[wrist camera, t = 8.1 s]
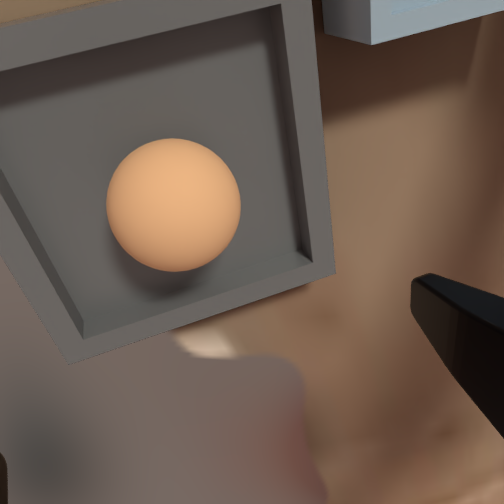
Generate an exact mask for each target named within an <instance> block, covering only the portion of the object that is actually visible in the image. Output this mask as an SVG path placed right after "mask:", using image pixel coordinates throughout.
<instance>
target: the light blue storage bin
mask: <svg viewBox="0 0 504 504" xmlns="http://www.w3.org/2000/svg"><path fill="white" fill-rule="evenodd" d="M322 9H323V22H324V33H325V34H329V35H333V36H337V37H341V38H345V39H349V40H353V41H357V42H361V43H365V44H369V45H374V44H378V43H382V42H385V41H389V40H393V39H397V38H400V37H404V36H408V35H412V34H416V33H419V32H423V31H427V30H431V29H434V28H438V27H442V26H446V25H449V24H453V23H457V22H461V21H465V20H468V19H472V18H476V17H480V16H483V15H487V14H491V13H495V12H499V11H502V10H504V0H322Z"/></svg>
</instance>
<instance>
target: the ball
mask: <svg viewBox="0 0 504 504" xmlns="http://www.w3.org/2000/svg"><path fill="white" fill-rule="evenodd" d="M106 211H107V217H108V221H109V224H110V227H111V230H112V232H113V234H114V236H115V238H116V239H117V241H118V242H119V244H120V245H121V246H122V248H123V249H124V250H125V251H126V252H127V253H128V254H129V255H131V256H132V257H133V258H134V259H136V260H137V261H139V262H140V263H142V264H144V265H147V266H149V267H151V268H154V269H158V270H162V271H170V272H178V271H187V270H191V269H195V268H198V267H200V266H203V265H205V264H207V263H209V262H210V261H212V260H213V259H215V258H216V257H217V256H218V255H219V254H221V253H222V251H223V250H224V249H225V248H226V247H227V246H228V244H229V243H230V242H231V240H232V238H233V236H234V234H235V232H236V229H237V227H238V223H239V219H240V211H241V200H240V194H239V189H238V186H237V183H236V180H235V178H234V176H233V174H232V172H231V171H230V169H229V168H228V166H227V165H226V164H225V163H224V161H223V160H222V159H221V158H220V157H218V156H217V155H216V154H215V153H214V152H213V151H211V150H210V149H208V148H206V147H204V146H202V145H200V144H198V143H195V142H192V141H189V140H184V139H174V138H170V139H161V140H156V141H152V142H150V143H147V144H145V145H143V146H141V147H139V148H137V149H136V150H134V151H133V152H131V153H130V154H129V155H128V156H127V157H126V158H124V160H123V161H122V162H121V163H120V164H119V166H118V167H117V169H116V170H115V172H114V174H113V176H112V178H111V181H110V183H109V187H108V190H107V198H106Z"/></svg>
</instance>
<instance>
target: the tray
mask: <svg viewBox="0 0 504 504" xmlns="http://www.w3.org/2000/svg"><path fill="white" fill-rule="evenodd" d="M170 138H174V139H184V140H189V141H192V142H195V143H198V144H200V145H202V146H204V147H206V148H208V149H210V150H211V151H213V152H214V153H215V154H216V155H217V156H218V157H220V158H221V159H222V160H223V161H224V163H225V164H226V165H227V166H228V168H229V169H230V171H231V172H232V174H233V176H234V178H235V180H236V183H237V186H238V189H239V194H240V200H241V211H240V219H239V223H238V227H237V229H236V232H235V234H234V236H233V238H232V240H231V242H230V243H229V244H228V246H227V247H226V248H225V249H224V250H223V251H222V253H221V254H219V255H218V256H217V257H216V258H215V259H213V260H212V261H210V262H209V263H207V264H205V265H203V266H200V267H198V268H195V269H191V270H187V271H178V272H170V271H162V270H158V269H154V268H151V267H149V266H147V265H144V264H142V263H140V262H139V261H137V260H136V259H134V258H133V257H132V256H131V255H129V254H128V253H127V252H126V251H125V250H124V249H123V248H122V246H121V245H120V244H119V242H118V241H117V239H116V238H115V236H114V234H113V232H112V230H111V227H110V224H109V221H108V217H107V211H106V198H107V190H108V187H109V183H110V181H111V178H112V176H113V174H114V172H115V170H116V169H117V167H118V166H119V164H120V163H121V162H122V161H123V160H124V158H126V157H127V156H128V155H129V154H130V153H131V152H133V151H134V150H136V149H137V148H139V147H141V146H143V145H145V144H147V143H150V142H152V141H156V140H161V139H170ZM0 255H1V257H2V259H3V260H4V262H5V263H6V265H7V267H8V268H9V270H10V272H11V273H12V275H13V276H14V278H15V280H16V281H17V283H18V284H19V286H20V288H21V289H22V291H23V292H24V294H25V296H26V297H27V299H28V301H29V302H30V304H31V305H32V307H33V309H34V310H35V311H36V313H37V315H38V317H39V318H40V320H41V322H42V323H43V325H44V326H45V328H46V330H47V331H48V333H49V334H50V336H51V337H52V339H53V341H54V342H55V344H56V346H57V347H58V349H59V351H60V352H61V354H62V355H63V357H64V359H65V360H66V362H67V363H68V365H70V364H73V363H76V362H79V361H81V360H84V359H87V358H90V357H93V356H96V355H99V354H102V353H105V352H108V351H111V350H114V349H116V348H119V347H122V346H125V345H128V344H131V343H134V342H137V341H140V340H142V339H146V338H149V337H152V336H155V335H158V334H160V333H163V332H166V331H169V330H172V329H175V328H178V327H181V326H184V325H187V324H190V323H193V322H195V321H198V320H201V319H204V318H207V317H210V316H213V315H216V314H219V313H222V312H225V311H228V310H231V309H233V308H236V307H239V306H242V305H245V304H248V303H251V302H254V301H257V300H260V299H263V298H266V297H268V296H271V295H274V294H277V293H280V292H283V291H286V290H289V289H292V288H295V287H298V286H301V285H303V284H306V283H309V282H312V281H315V280H318V279H321V278H324V277H327V276H330V275H333V274H336V270H335V259H334V248H333V236H332V225H331V214H330V203H329V191H328V180H327V169H326V157H325V146H324V135H323V124H322V112H321V101H320V90H319V78H318V67H317V56H316V45H315V33H314V22H313V11H312V0H102V1H98V2H93V3H89V4H85V5H80V6H76V7H71V8H67V9H63V10H58V11H54V12H49V13H45V14H40V15H36V16H32V17H27V18H23V19H18V20H14V21H10V22H5V23H1V24H0Z"/></svg>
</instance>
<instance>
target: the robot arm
mask: <svg viewBox="0 0 504 504" xmlns="http://www.w3.org/2000/svg"><path fill="white" fill-rule="evenodd" d="M410 307H411V312H412V314H413V316H414V318H415V320H416V321H417V323H418V324H419V326H420V327H421V329H422V330H423V332H424V333H425V335H426V337H427V338H428V340H429V341H430V343H431V344H432V346H433V347H434V349H435V350H436V352H437V353H438V355H439V356H440V358H441V360H442V361H443V363H444V364H445V366H446V367H447V368H448V370H449V371H450V373H451V374H452V375H453V377H454V378H455V379H456V381H457V382H458V383H459V384H460V386H461V387H462V388H463V389H464V391H465V392H466V393H467V394H468V395H469V397H470V398H471V399H472V400H473V402H474V403H475V404H476V405H477V406H478V408H479V409H480V410H481V411H482V413H483V414H484V415H485V416H486V417H487V419H488V420H489V421H490V422H491V424H492V425H493V426H494V427H495V428H496V430H497V431H498V432H499V433H500V435H501V436H502V437H503V438H504V298H503V297H500V296H497V295H494V294H491V293H489V292H486V291H483V290H480V289H477V288H474V287H471V286H468V285H465V284H462V283H459V282H456V281H453V280H450V279H447V278H445V277H442V276H439V275H436V274H432V273H428V274H425V275H422V276H419V277H416V278H414V279H413V280H412V282H411V302H410ZM0 504H8V478H7V463H6V460H5V458H4V457H3V455H2V454H1V453H0Z"/></svg>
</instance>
